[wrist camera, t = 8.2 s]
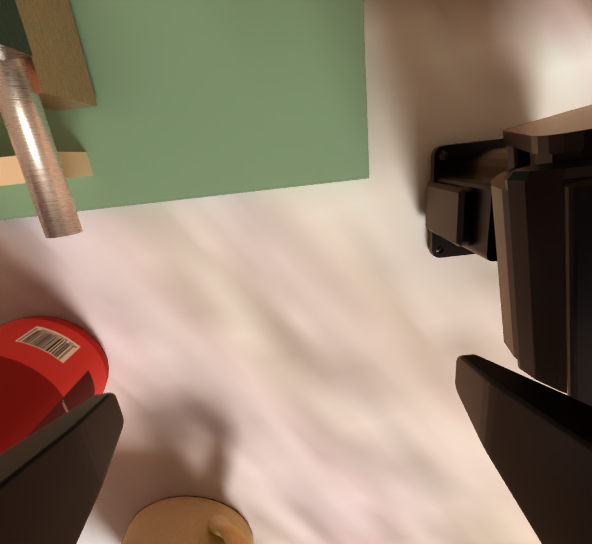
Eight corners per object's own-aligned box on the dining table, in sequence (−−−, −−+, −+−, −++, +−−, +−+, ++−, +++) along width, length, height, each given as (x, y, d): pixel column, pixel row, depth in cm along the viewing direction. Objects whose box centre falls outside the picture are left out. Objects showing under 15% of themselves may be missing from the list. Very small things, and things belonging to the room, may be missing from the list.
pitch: (350, -210, 14) (372, -338, 11) (365, 176, 20) (383, 182, 16) (-151, -143, 15) (-302, -245, 11) (-5, 218, 20) (-73, 234, 16)
